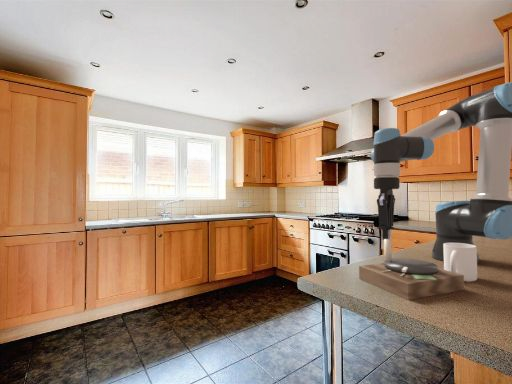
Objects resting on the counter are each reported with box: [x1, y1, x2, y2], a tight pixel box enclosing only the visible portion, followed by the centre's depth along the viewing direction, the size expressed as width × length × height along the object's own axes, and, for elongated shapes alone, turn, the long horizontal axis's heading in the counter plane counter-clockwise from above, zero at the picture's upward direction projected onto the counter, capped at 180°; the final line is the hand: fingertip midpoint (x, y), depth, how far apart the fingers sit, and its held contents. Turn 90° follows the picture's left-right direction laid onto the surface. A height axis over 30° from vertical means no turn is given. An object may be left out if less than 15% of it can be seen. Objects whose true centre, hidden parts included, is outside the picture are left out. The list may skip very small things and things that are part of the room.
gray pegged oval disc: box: [383, 238, 439, 275], centre depth 78 cm, size 18×14×8 cm
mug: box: [443, 243, 478, 282], centre depth 82 cm, size 12×8×10 cm
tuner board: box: [358, 262, 465, 301], centre depth 78 cm, size 20×18×4 cm
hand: (386, 249), depth 86 cm, fingers closed
